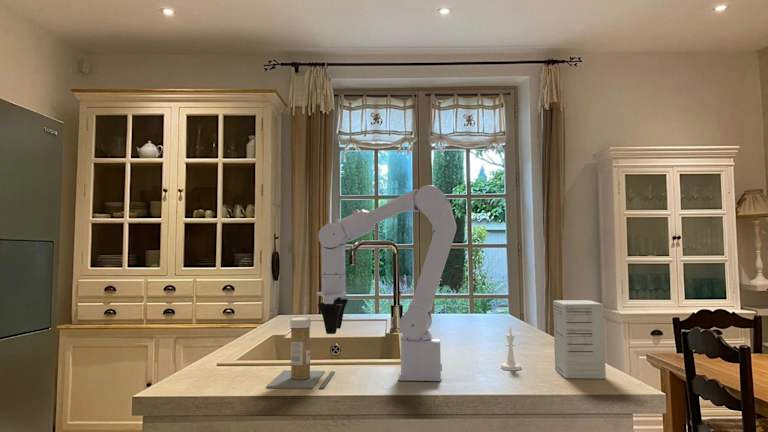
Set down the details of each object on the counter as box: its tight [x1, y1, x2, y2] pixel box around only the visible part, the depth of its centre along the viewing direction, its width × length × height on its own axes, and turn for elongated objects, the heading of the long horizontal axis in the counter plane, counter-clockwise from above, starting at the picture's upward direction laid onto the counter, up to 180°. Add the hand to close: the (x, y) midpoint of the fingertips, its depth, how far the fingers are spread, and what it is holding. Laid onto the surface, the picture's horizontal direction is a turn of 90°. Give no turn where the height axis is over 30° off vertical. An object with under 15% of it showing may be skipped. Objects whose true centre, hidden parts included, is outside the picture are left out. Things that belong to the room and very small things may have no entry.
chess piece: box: [500, 326, 522, 371], centre depth 131 cm, size 5×5×10 cm
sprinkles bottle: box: [289, 317, 311, 380], centre depth 122 cm, size 5×5×13 cm
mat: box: [265, 369, 326, 390], centre depth 121 cm, size 10×14×1 cm
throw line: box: [318, 370, 336, 390], centre depth 121 cm, size 1×14×1 cm, turn 175°
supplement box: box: [552, 299, 607, 380], centre depth 125 cm, size 10×9×17 cm
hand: (333, 331), depth 128 cm, fingers open, 7 cm apart
